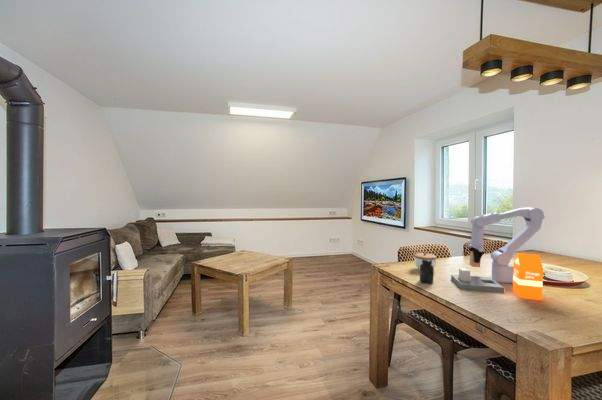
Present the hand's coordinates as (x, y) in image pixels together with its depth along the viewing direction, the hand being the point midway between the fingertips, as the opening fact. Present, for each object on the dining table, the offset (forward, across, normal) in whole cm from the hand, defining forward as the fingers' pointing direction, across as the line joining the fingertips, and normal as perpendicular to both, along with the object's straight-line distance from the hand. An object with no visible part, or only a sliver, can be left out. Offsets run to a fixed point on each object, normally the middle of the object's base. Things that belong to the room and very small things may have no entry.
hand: (475, 261), depth 155 cm
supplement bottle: (+11, +14, -27) cm, 33 cm away
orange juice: (+9, +23, +15) cm, 29 cm away
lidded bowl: (+11, -10, -24) cm, 28 cm away
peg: (+2, 0, 0) cm, 3 cm away
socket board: (+10, +13, -3) cm, 17 cm away
